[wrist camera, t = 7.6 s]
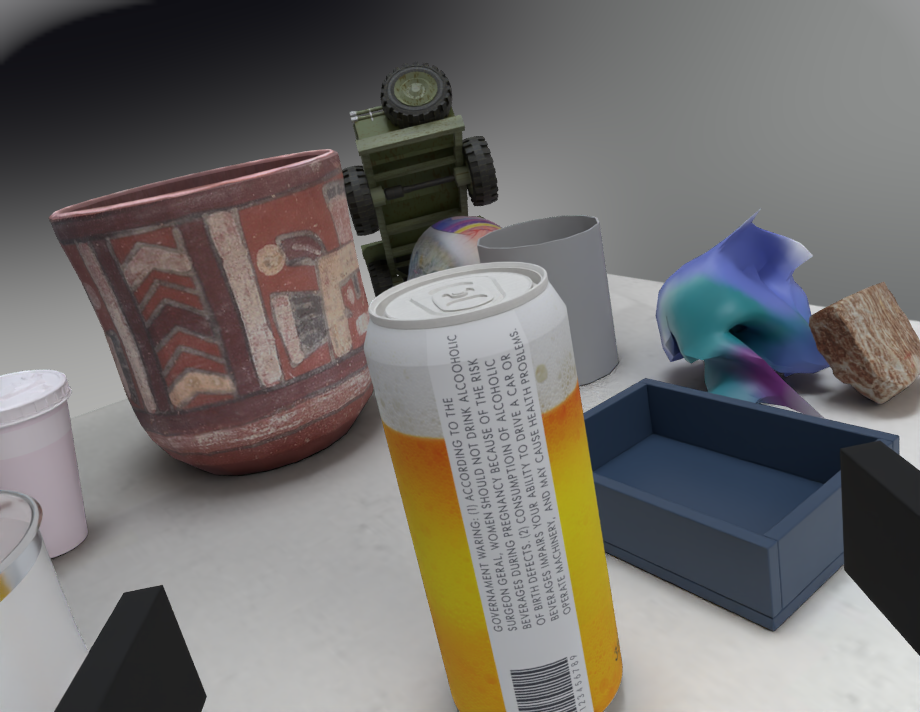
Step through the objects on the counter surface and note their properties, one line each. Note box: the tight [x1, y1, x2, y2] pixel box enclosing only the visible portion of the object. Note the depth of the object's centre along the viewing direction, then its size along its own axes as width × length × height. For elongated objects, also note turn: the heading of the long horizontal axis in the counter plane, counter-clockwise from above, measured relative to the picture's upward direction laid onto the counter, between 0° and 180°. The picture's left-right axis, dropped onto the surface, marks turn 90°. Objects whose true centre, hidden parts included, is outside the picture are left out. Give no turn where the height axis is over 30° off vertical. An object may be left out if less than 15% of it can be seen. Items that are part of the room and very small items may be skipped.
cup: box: [477, 215, 619, 386], centre depth 54 cm, size 8×8×10 cm
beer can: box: [364, 262, 623, 712], centre depth 25 cm, size 6×6×15 cm
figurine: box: [656, 210, 830, 419], centre depth 46 cm, size 13×12×9 cm
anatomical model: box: [407, 216, 501, 281], centre depth 66 cm, size 10×12×10 cm
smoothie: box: [0, 370, 88, 558], centre depth 43 cm, size 6×6×14 cm
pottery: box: [49, 149, 373, 475], centre depth 51 cm, size 18×18×18 cm
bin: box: [583, 378, 899, 631], centre depth 35 cm, size 10×13×4 cm
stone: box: [809, 282, 920, 404], centre depth 42 cm, size 7×6×5 cm
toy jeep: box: [342, 62, 498, 297], centre depth 70 cm, size 12×25×11 cm
